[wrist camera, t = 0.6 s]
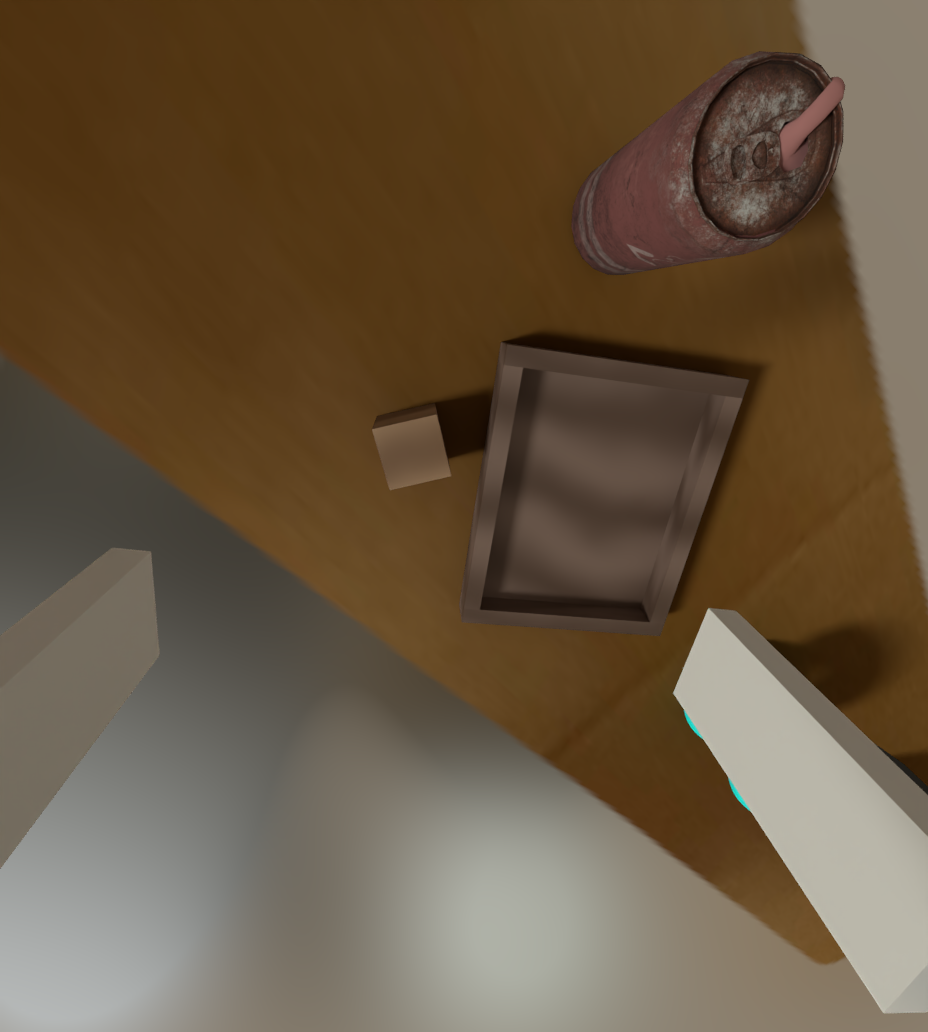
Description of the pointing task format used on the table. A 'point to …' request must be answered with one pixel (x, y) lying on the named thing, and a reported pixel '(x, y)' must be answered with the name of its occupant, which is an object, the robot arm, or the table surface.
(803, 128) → the can
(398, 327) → the table surface
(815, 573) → the table surface
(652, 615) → the tray
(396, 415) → the brown boxy piece
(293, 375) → the table surface
